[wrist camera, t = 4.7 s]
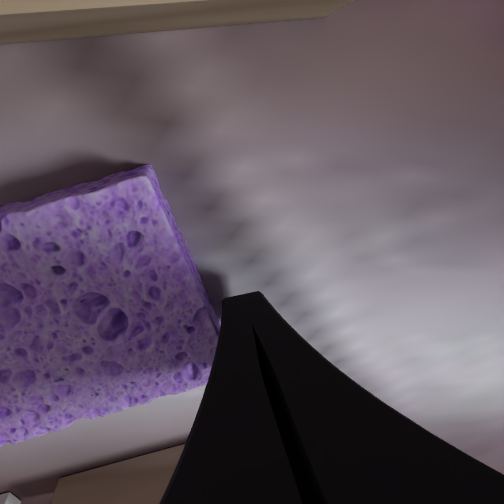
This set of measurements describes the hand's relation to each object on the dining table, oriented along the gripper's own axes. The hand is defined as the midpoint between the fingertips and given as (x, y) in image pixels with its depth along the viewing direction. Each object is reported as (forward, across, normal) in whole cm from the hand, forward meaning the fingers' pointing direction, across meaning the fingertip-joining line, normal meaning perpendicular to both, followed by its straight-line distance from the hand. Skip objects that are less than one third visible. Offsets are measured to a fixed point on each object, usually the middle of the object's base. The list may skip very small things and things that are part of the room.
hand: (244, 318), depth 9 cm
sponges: (+1, +7, -1) cm, 7 cm away
